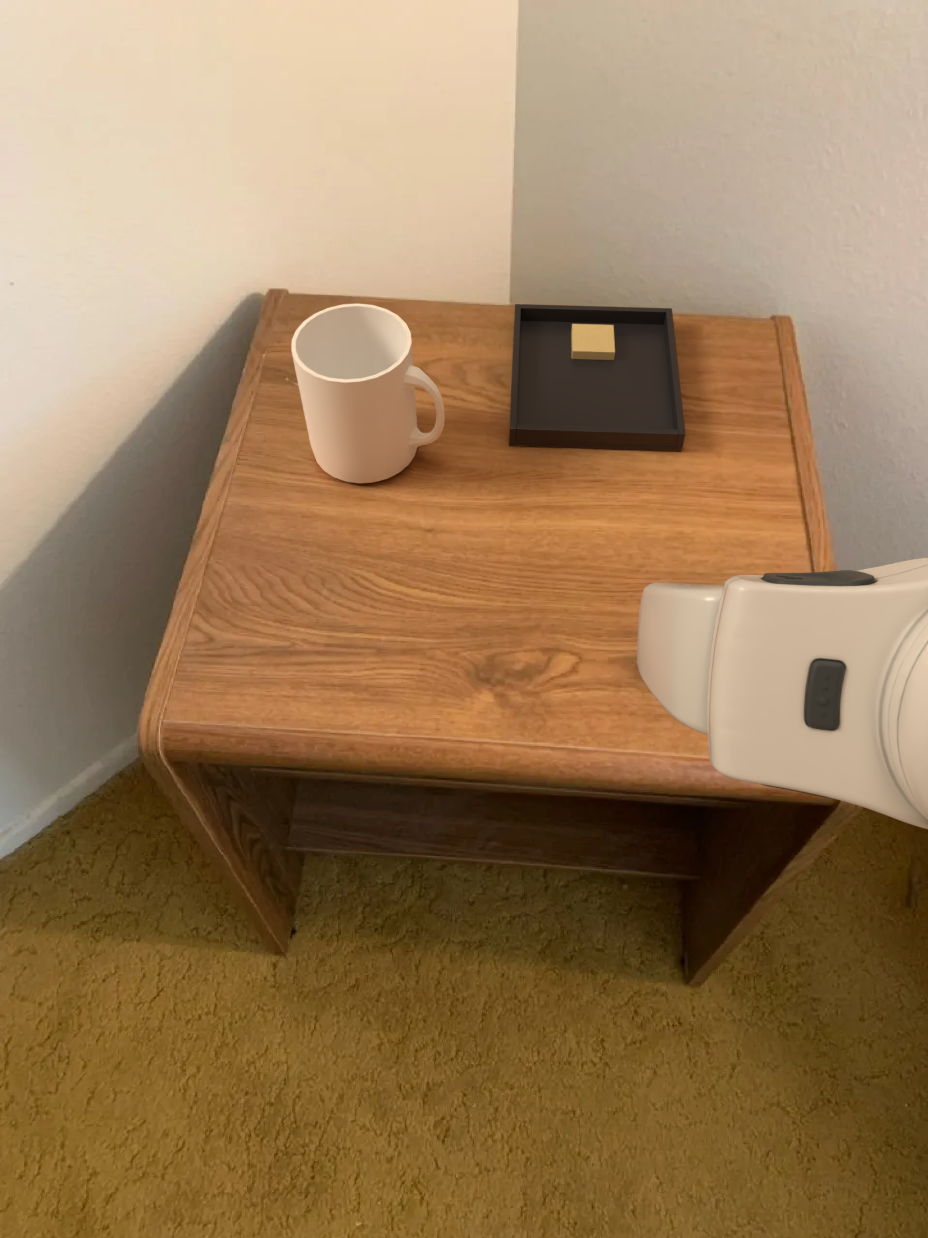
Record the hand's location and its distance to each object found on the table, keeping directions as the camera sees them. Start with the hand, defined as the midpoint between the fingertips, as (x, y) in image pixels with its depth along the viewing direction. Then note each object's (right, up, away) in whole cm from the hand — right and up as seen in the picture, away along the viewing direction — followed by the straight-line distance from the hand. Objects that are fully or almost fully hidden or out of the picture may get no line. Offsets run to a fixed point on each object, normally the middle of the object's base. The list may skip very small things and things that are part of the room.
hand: (843, 613), depth 42 cm
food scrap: (-5, +26, +47) cm, 54 cm away
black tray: (-5, +22, +45) cm, 50 cm away
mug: (-25, +15, +40) cm, 49 cm away
